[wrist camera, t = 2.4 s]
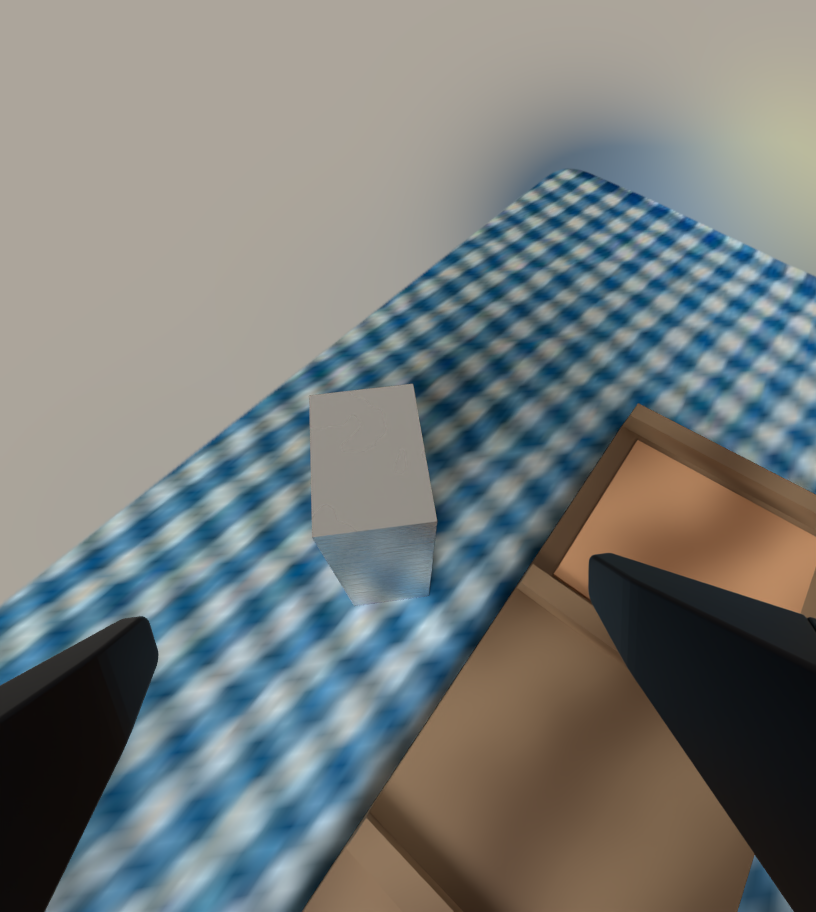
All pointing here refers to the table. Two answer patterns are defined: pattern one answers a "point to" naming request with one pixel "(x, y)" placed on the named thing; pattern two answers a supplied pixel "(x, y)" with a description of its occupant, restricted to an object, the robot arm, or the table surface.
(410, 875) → the rack
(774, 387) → the table surface
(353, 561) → the brushed grey box
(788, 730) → the robot arm
